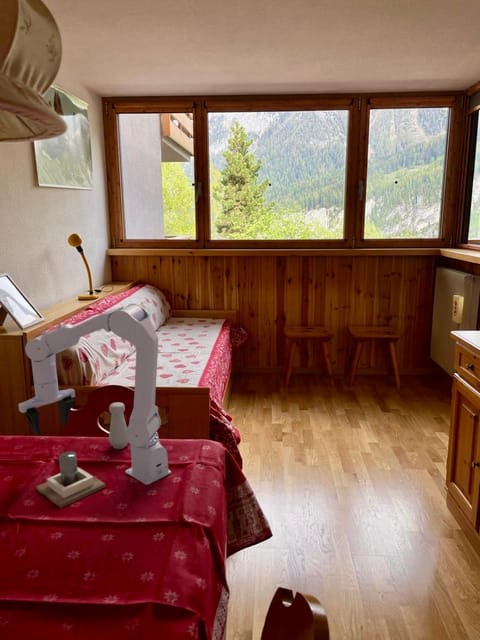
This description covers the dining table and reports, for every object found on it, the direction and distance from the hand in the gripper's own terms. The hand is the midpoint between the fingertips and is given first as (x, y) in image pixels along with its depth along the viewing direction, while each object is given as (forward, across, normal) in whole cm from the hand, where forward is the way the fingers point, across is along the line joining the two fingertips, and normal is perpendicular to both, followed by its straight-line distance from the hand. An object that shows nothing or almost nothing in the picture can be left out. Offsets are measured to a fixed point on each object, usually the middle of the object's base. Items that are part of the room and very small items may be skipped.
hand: (51, 429), depth 133 cm
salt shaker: (+11, -18, +4) cm, 21 cm away
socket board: (+10, +3, +14) cm, 18 cm away
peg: (+10, +3, +14) cm, 17 cm away
